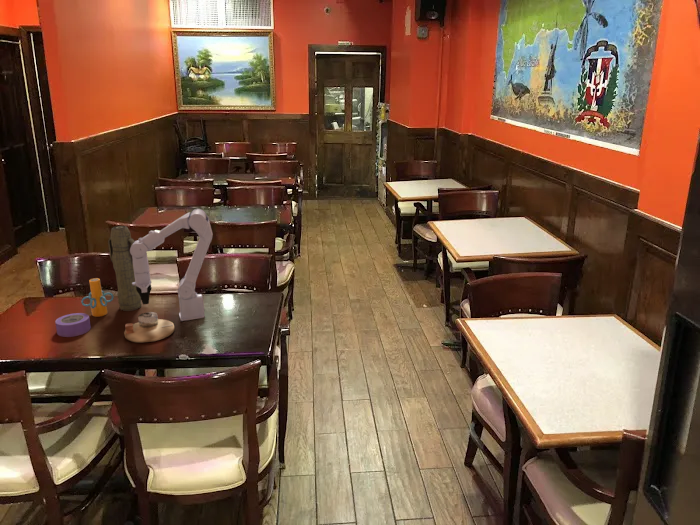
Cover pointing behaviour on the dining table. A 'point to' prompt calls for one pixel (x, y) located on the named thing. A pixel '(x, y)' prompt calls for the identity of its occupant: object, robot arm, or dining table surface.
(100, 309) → the cylinder
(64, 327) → the tape roll
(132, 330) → the disc
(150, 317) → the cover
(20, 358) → the dining table surface
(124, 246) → the thermos
